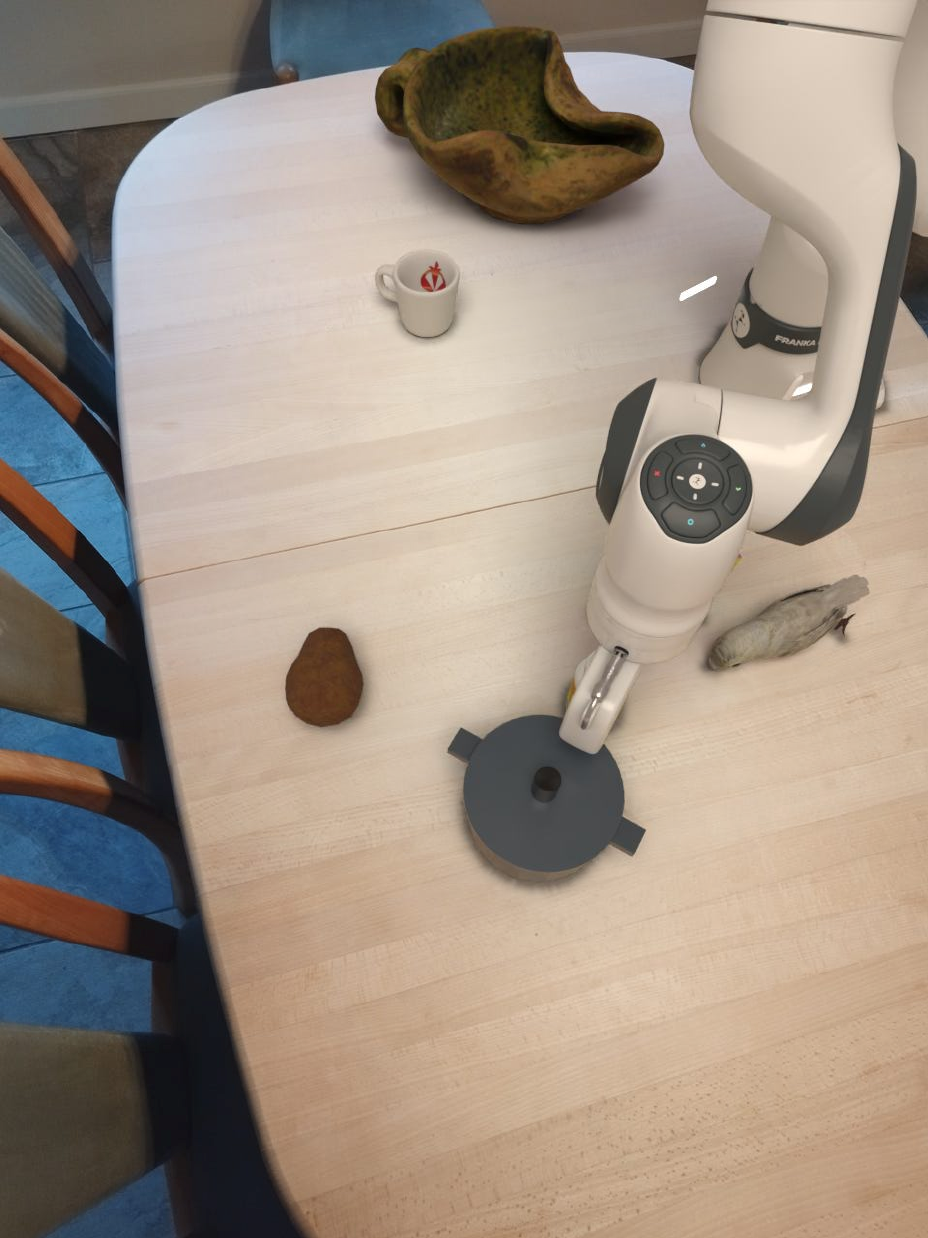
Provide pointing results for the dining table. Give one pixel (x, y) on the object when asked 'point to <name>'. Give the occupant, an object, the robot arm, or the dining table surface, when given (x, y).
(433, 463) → the dining table surface
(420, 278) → the cup
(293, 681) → the potato
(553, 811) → the pot lid
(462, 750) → the pot
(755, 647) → the decorative bird
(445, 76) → the bowl
